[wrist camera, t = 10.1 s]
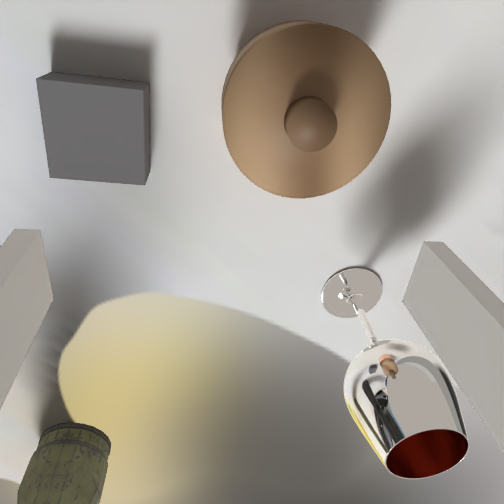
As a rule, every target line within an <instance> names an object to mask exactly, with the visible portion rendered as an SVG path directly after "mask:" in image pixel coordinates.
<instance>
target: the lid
mask: <svg viewBox="0 0 504 504" xmlns="http://www.w3.org/2000/svg"><path fill="white" fill-rule="evenodd" d="M390 112H391V94H390V88H389V83H388V79H387V76H386V73H385V71H384V69H383V67H382V64H381V62H380V61H379V59H378V58H377V56H376V55H375V53H374V52H373V51H372V50H371V49H370V48H369V47H368V46H367V44H365V43H364V42H363V41H362V40H360V39H359V38H358V37H356V36H354V35H353V34H351V33H349V32H348V31H345V30H342V29H340V28H337V27H333V26H329V25H325V24H321V23H316V22H312V21H290V22H285V23H281V24H277V25H275V26H273V27H270V28H268V29H266V30H264V31H263V32H261V33H259V34H258V35H257V36H255V37H254V38H253V39H251V40H250V41H249V42H248V43H247V44H246V45H245V46H244V47H243V48H242V49H241V51H240V52H239V53H238V55H237V56H236V58H235V59H234V61H233V63H232V65H231V66H230V69H229V71H228V73H227V76H226V79H225V83H224V86H223V93H222V121H223V131H224V137H225V141H226V145H227V148H228V150H229V153H230V155H231V157H232V159H233V160H234V162H235V164H236V165H237V167H238V168H239V169H240V171H241V172H242V173H243V174H244V175H245V176H246V177H247V178H248V179H249V180H250V181H251V182H253V183H254V184H255V185H257V186H258V187H260V188H262V189H263V190H265V191H268V192H270V193H272V194H275V195H279V196H282V197H289V198H310V197H316V196H321V195H324V194H327V193H330V192H333V191H335V190H337V189H339V188H341V187H343V186H344V185H346V184H347V183H349V182H350V181H352V180H353V179H354V178H355V177H357V176H358V175H359V174H360V173H361V172H362V171H363V170H364V169H365V168H366V167H367V166H368V165H369V163H370V162H371V161H372V159H373V158H374V157H375V155H376V153H377V152H378V150H379V148H380V146H381V144H382V142H383V140H384V138H385V135H386V132H387V129H388V124H389V120H390Z"/></svg>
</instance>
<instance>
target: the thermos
mask: <svg viewBox="0 0 504 504" xmlns="http://www.w3.org/2000/svg"><path fill="white" fill-rule="evenodd" d="M110 448H111V442H110V440H109V438H108V436H106V434H104V433H103V432H102V431H101V430H99V429H97V428H95V427H93V426H89V425H86V424H80V423H65V424H59V425H56V426H53V427H50V428H49V429H48V430H46V431H45V432H44V433H43V435H42V436H41V438H40V441H39V445H38V447H37V450H36V451H35V452H34V454H33V456H32V457H31V459H30V462H29V464H28V467H27V469H26V472H25V475H24V477H23V480H22V482H21V485H20V487H19V490H18V500H17V504H99V503H100V499H101V495H102V490H103V486H104V481H105V477H106V473H107V467H108V463H107V460H108V456H109V454H110Z"/></svg>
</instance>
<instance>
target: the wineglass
mask: <svg viewBox="0 0 504 504" xmlns="http://www.w3.org/2000/svg"><path fill="white" fill-rule="evenodd" d="M381 294H382V284H381V281H380V279H379V278H378V276H377V275H376V274H375V273H373V272H371V271H369V270H367V269H363V268H351V269H346V270H343V271H341V272H339V273H337V274H335V275H334V276H333V277H331V278H330V279H329V280H328V281H327V283H326V284H325V286H324V288H323V290H322V295H321V299H322V304H323V306H324V308H325V309H326V310H327V311H328V312H329V313H330V314H332V315H334V316H337V317H341V318H352V317H357V316H358V317H359V319H360V321H361V324H362V326H363V328H364V330H365V333H366V335H367V337H368V340H369V344H368V345H367V346H366V347H365V348H363V349H362V350H361V351H360V352H359V353H358V354H357V355H356V356H355V357H354V359H353V360H352V362H351V363H350V365H349V367H348V370H347V372H346V375H345V380H344V397H345V401H346V404H347V407H348V409H349V411H350V413H351V415H352V417H353V419H354V421H355V422H356V424H357V426H358V427H359V429H360V430H361V432H362V433H363V435H364V436H365V438H366V439H367V441H368V442H369V444H370V445H371V447H372V448H373V450H374V451H375V453H376V454H377V455H378V457H379V458H380V460H381V461H382V463H383V464H384V466H385V467H386V468H387V469H388V471H389V472H390V473H391V474H393V475H395V476H397V477H400V478H405V479H422V478H428V477H432V476H435V475H438V474H441V473H443V472H446V471H447V470H449V469H451V468H453V467H454V466H456V465H457V464H458V463H459V462H461V460H463V458H464V457H465V456H466V454H467V453H468V450H469V440H468V436H467V432H466V428H465V424H464V420H463V416H462V412H461V409H460V405H459V402H458V398H457V395H456V391H455V388H454V385H453V382H452V379H451V377H450V374H449V372H448V370H447V368H446V367H445V365H444V363H443V362H442V361H441V360H440V358H439V357H438V356H437V355H436V354H434V353H433V352H432V351H431V350H429V349H428V348H426V347H424V346H422V345H420V344H418V343H415V342H412V341H409V340H404V339H383V340H381V339H379V338H378V337H377V336H376V334H375V331H374V329H373V327H372V325H371V323H370V321H369V319H368V317H367V315H366V312H368V311H369V310H371V309H372V308H373V307H374V306H375V305H376V304H377V303H378V301H379V299H380V297H381Z"/></svg>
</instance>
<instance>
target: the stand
mask: <svg viewBox="0 0 504 504" xmlns="http://www.w3.org/2000/svg"><path fill="white" fill-rule="evenodd" d="M36 82H37V89H38V96H39V103H40V110H41V118H42V125H43V132H44V139H45V146H46V153H47V160H48V167H49V174H50V178H60V179H73V180H86V181H98V182H111V183H123V184H136V185H145V184H146V181H147V178H148V176H149V173H150V111H149V83H147V82H138V81H129V80H120V79H111V78H102V77H92V76H83V75H74V74H65V73H56V72H50V73H48V74H46V75H43V76H41V77H39V78H37V79H36Z"/></svg>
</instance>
